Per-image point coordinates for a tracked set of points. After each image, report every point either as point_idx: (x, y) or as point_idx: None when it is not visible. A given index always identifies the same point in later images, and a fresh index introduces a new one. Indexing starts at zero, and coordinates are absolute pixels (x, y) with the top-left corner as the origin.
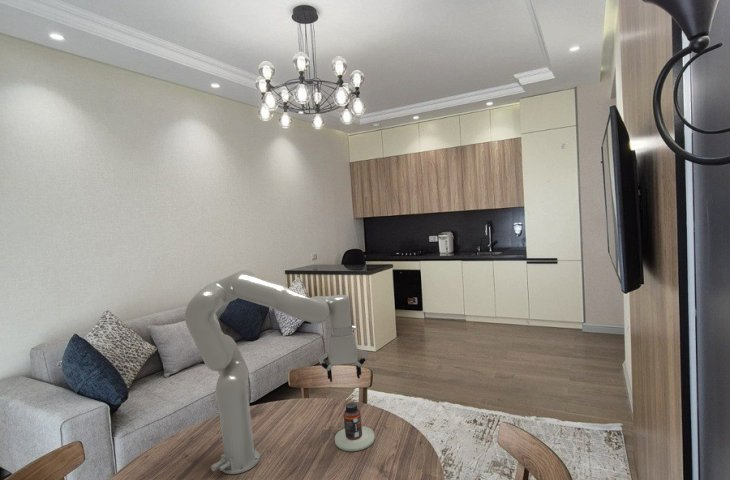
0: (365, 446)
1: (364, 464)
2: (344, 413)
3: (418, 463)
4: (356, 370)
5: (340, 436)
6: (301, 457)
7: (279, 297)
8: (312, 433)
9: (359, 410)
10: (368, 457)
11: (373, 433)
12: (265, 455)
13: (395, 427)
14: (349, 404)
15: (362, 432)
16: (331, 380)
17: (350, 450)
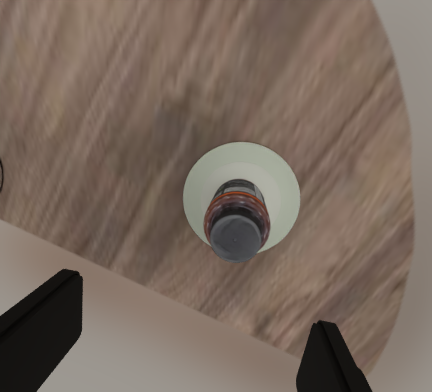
0: None
1: (232, 298)
2: (204, 228)
3: None
4: (329, 368)
5: (201, 184)
6: (99, 209)
7: None
8: (132, 105)
9: (267, 235)
10: (249, 280)
11: (296, 213)
12: (14, 160)
13: (378, 187)
14: (228, 232)
15: (267, 195)
16: (67, 346)
17: None
